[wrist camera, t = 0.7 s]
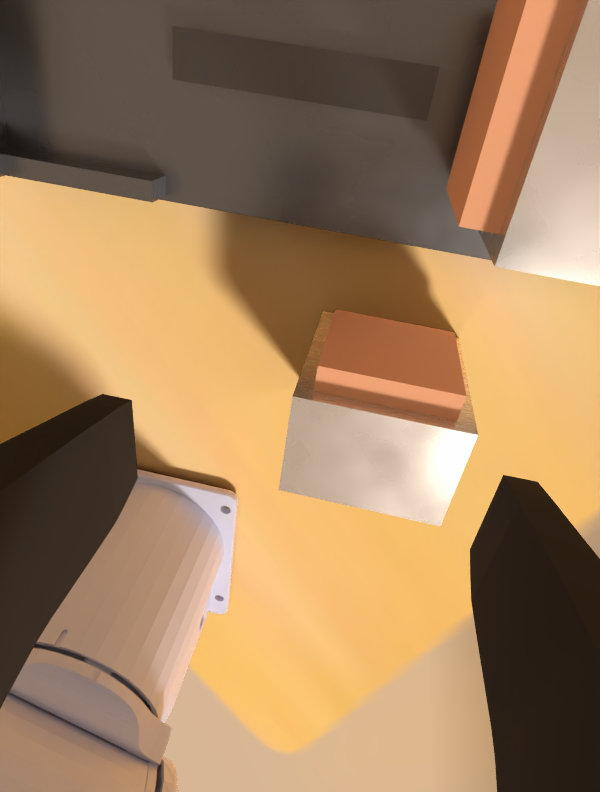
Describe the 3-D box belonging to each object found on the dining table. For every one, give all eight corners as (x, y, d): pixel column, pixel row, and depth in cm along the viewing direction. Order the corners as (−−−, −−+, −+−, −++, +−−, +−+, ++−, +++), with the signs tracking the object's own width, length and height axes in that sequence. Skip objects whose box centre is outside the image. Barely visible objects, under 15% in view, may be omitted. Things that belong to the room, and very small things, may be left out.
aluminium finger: (432, 415, 20) (440, 526, 15) (310, 389, 21) (278, 489, 16) (465, 317, 18) (488, 410, 13) (326, 290, 18) (296, 371, 13)
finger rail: (777, -59, 12) (1161, -198, 6) (615, 272, 16) (737, 388, 10) (-57, -167, 13) (-432, -361, 7) (2, 161, 18) (-204, 204, 12)
